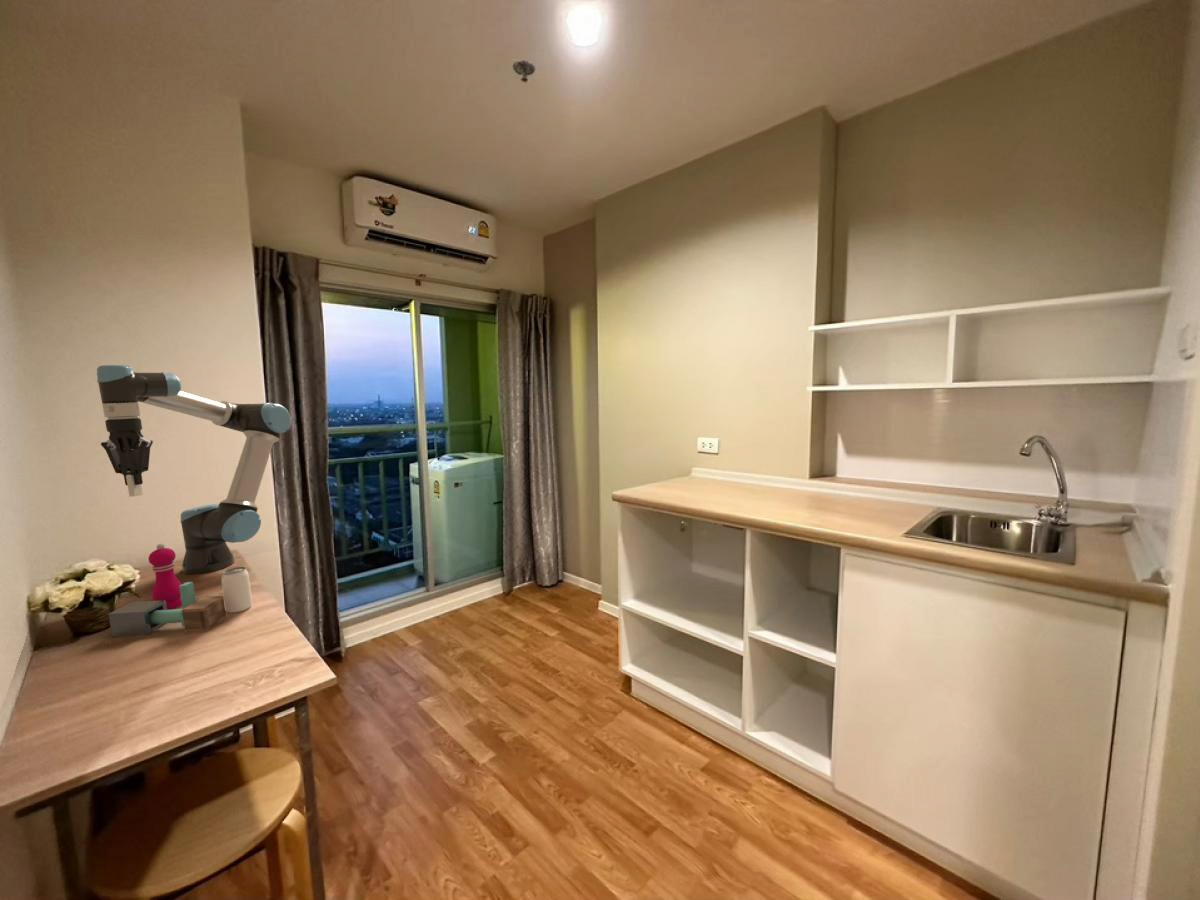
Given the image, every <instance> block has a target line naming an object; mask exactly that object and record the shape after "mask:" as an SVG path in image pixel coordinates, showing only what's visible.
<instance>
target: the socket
mask: <svg viewBox="0 0 1200 900" xmlns="http://www.w3.org/2000/svg"><path fill="white" fill-rule="evenodd" d="M181 609H182V615H183V621H184V626H183V627H184V633H185V634H193V633H196V634H197V633H207V632H208V631H210V630H212V629H213V628H214V626H215V627H216V626H217V625H219V624H220V623H222V622H224V621H225V620H226V619H227V613H226V612H227V611H226V608H225V602H224V595H219V596H218V595H217V596H216V595H214V596H203V597H201V598H199V599H196V602H194V603H192V604H190V605H189V606H187V607H185V608H183V607H182V608H181ZM221 621H222V622H221Z"/></svg>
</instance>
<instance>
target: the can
mask: <svg viewBox="0 0 1200 900" xmlns="http://www.w3.org/2000/svg"><path fill="white" fill-rule="evenodd" d="M221 574H222V576H221V578H220V581H221V588H222V596H223V597H224V604H225V611H226V612H227V613H228V614H234V613H235V614H236V612H237V613H240V612H244V611H246V610H248V609H250V608H251V607H252V606H253V597H252V591H251V590H252V588H251V585H250V584H251V583H250V575H249V572H248V570H247V568H246V566H237V567H232V568H228V569H226V570H223V571H222V573H221Z"/></svg>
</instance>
